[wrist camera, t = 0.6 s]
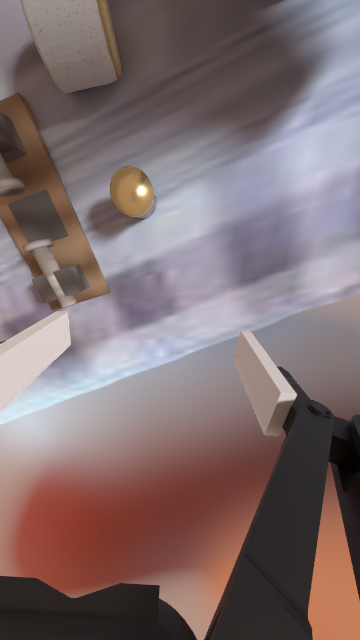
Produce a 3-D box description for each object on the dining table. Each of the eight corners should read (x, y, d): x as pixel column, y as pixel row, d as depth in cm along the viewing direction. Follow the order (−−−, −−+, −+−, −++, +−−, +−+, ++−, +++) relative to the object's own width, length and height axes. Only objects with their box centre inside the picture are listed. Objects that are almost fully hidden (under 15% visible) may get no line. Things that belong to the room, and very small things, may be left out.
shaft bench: (-43, 128, 28) (-104, 98, 22) (25, 98, 27) (-21, 57, 21) (57, 307, 38) (34, 320, 32) (110, 291, 37) (96, 301, 31)
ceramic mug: (129, 95, 27) (111, 40, 20) (72, 108, 28) (34, 60, 20) (106, -24, 23) (73, -143, 16) (40, -5, 24) (-20, -113, 17)
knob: (132, 174, 30) (119, 156, 24) (163, 194, 31) (159, 181, 25) (119, 210, 32) (103, 202, 26) (149, 227, 33) (142, 223, 27)
